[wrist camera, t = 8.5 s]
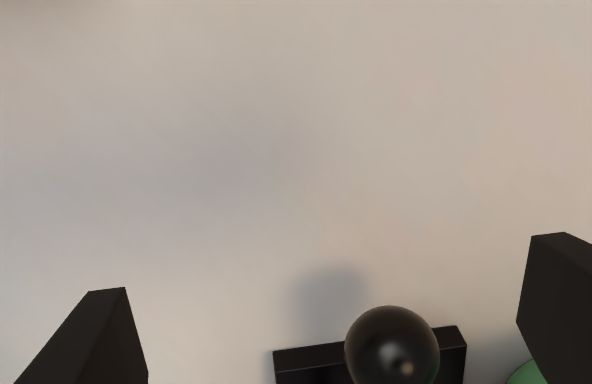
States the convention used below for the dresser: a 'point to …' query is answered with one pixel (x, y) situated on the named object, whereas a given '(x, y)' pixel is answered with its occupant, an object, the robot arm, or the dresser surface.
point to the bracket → (332, 371)
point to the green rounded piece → (527, 375)
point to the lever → (391, 348)
